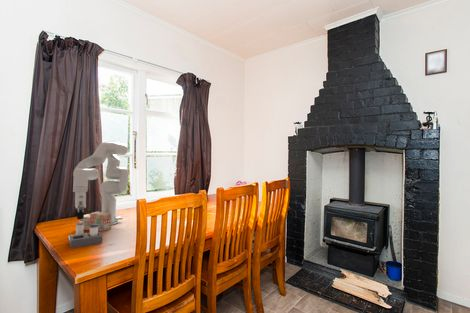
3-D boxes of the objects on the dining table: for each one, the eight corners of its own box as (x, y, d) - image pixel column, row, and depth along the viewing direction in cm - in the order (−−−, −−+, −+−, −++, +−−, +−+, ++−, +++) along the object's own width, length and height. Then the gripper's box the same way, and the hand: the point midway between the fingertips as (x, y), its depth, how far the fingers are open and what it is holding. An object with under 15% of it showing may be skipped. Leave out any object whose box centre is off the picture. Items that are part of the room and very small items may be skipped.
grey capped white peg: (97, 239, 147) (97, 223, 147) (98, 242, 143) (98, 224, 143) (88, 241, 144) (89, 224, 144) (89, 243, 141) (90, 226, 141)
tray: (88, 235, 158) (88, 232, 158) (90, 240, 151) (90, 236, 151) (68, 238, 151) (68, 235, 151) (69, 243, 144) (69, 240, 144)
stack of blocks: (79, 229, 170) (80, 211, 170) (87, 227, 176) (88, 209, 176) (103, 233, 163) (103, 215, 163) (111, 231, 169) (111, 213, 169)
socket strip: (99, 240, 150) (99, 231, 150) (102, 245, 143) (102, 235, 143) (69, 245, 141) (69, 235, 141) (70, 250, 134) (71, 240, 133)
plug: (83, 236, 154) (83, 220, 154) (84, 239, 150) (84, 222, 150) (74, 238, 151) (75, 221, 151) (75, 240, 148) (76, 223, 148)
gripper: (89, 190, 146) (88, 219, 145) (85, 187, 159) (84, 214, 159) (74, 191, 141) (73, 221, 141) (71, 187, 155) (70, 215, 155)
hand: (79, 217), depth 150 cm, fingers open, 9 cm apart
